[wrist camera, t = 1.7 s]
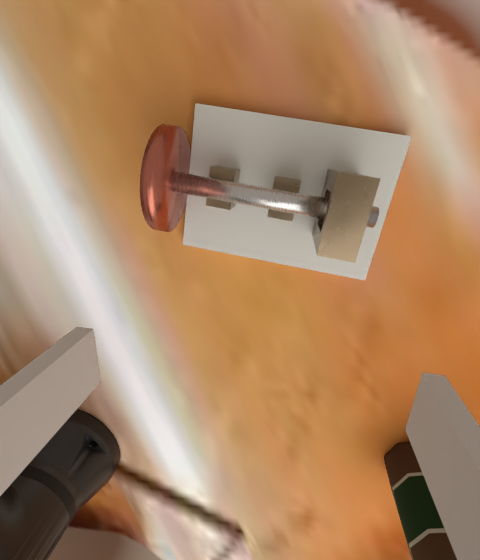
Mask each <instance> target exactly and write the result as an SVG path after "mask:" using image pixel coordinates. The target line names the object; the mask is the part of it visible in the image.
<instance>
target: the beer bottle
mask: <svg viewBox="0 0 480 560" xmlns="http://www.w3.org/2000/svg"><path fill="white" fill-rule="evenodd" d="M384 460H385V465H386V469H387V473H388V477H389V481H390V485H391V489H392V492H393V496H394V499H395V503H396V506H397V509H398V513H399V516H400V520H401V523H402V527H403V530H404V533H405V537H406V540H407V544H408V547H409V550H410V554H411V557H412V560H457V558H456V556H455V553H454V551H453V548H452V546H451V543H450V541H449V538H448V536H447V533H446V531H445V528H444V526H443V523H442V521H441V518H440V516H439V513H438V511H437V508H436V506H435V503H434V501H433V498H432V496H431V493H430V491H429V488H428V486H427V483H426V481H425V478H424V476H423V473H422V471H421V468H420V466H419V463H418V461H417V458H416V455H415V453H414V450H413V448H412V445H411V443H410V442H408V443H398V444H397V445H396V446H395V447H394V448H393V449H392V450H391V451H390V452H389V453H388V454H387V455H386V456H385V457H384Z"/></svg>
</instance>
